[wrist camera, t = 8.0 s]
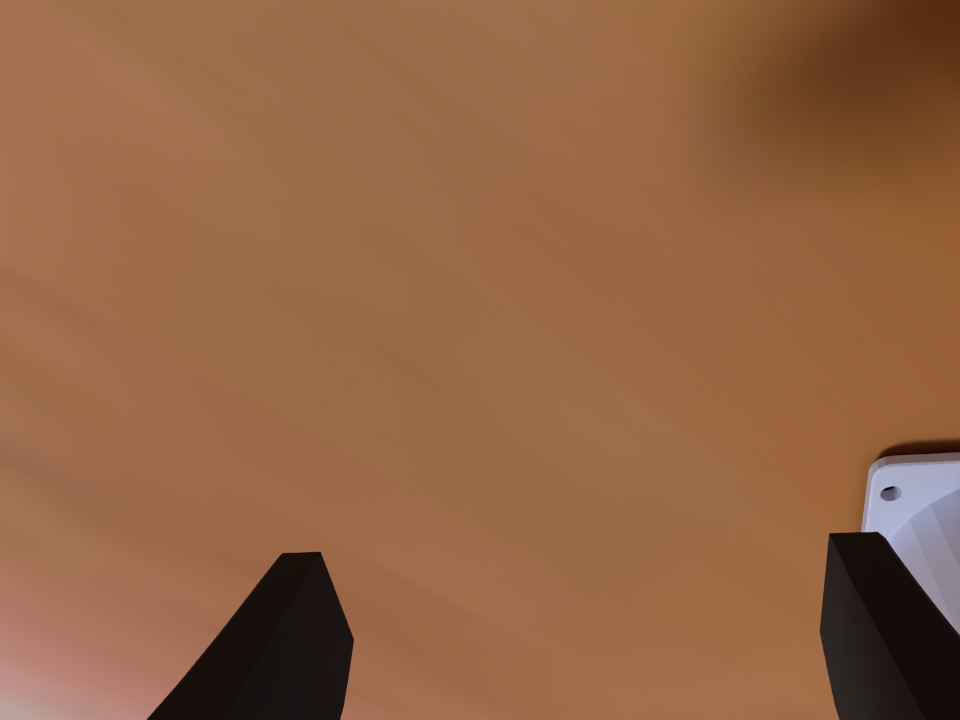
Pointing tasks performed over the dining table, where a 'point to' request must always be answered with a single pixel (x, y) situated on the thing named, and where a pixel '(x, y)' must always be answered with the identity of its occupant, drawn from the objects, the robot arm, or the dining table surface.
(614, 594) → the dining table surface
